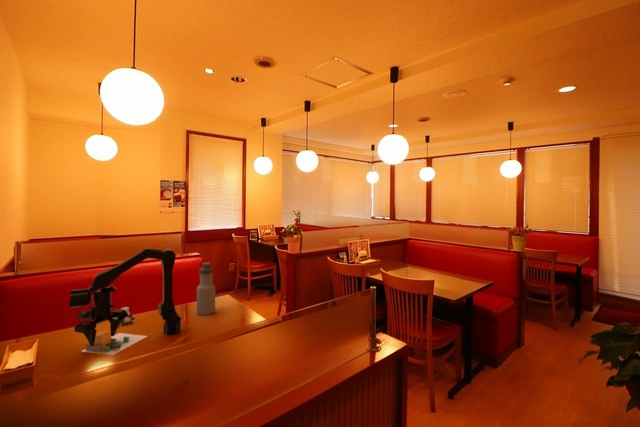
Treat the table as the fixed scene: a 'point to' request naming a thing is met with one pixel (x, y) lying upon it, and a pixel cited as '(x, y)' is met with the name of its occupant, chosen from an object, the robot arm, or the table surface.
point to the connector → (105, 340)
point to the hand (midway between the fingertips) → (102, 340)
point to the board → (120, 337)
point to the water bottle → (206, 291)
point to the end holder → (97, 346)
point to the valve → (127, 317)
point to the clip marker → (123, 341)
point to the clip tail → (107, 348)
